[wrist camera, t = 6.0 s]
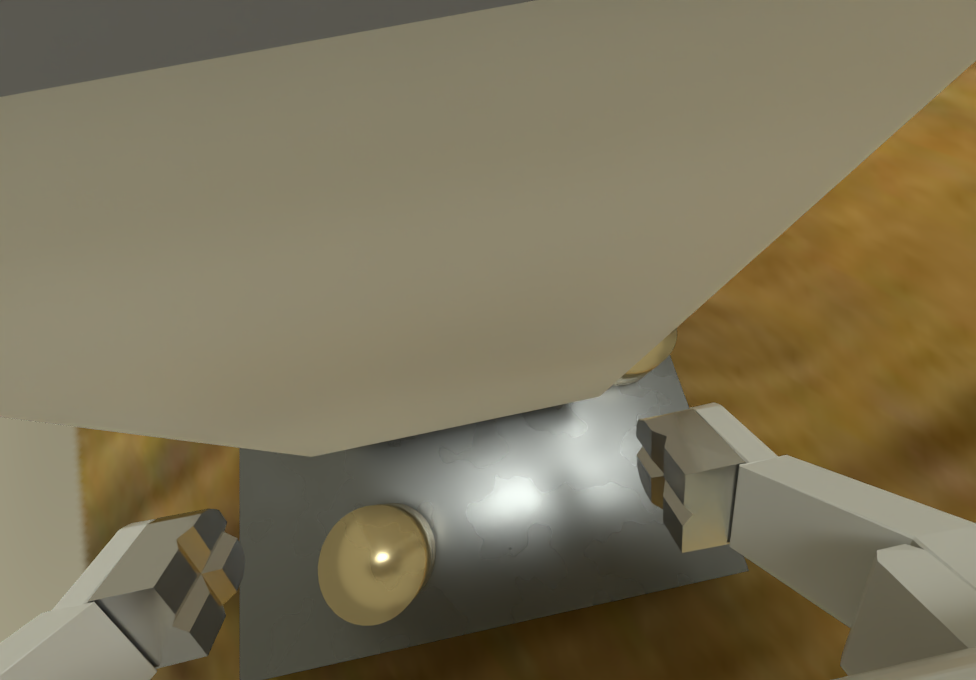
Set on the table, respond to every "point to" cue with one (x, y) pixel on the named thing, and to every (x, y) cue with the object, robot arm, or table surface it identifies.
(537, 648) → the table surface
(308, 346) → the instrument head
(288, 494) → the base
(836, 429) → the table surface
